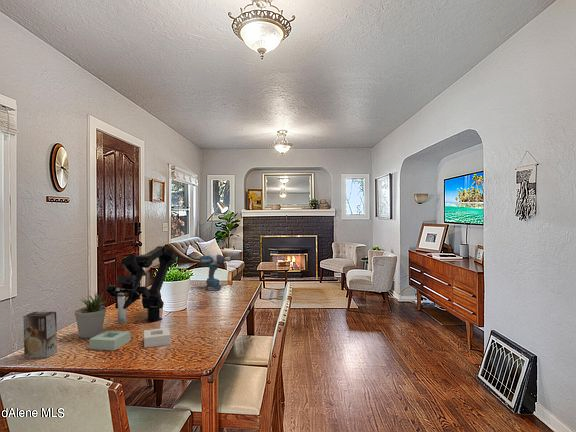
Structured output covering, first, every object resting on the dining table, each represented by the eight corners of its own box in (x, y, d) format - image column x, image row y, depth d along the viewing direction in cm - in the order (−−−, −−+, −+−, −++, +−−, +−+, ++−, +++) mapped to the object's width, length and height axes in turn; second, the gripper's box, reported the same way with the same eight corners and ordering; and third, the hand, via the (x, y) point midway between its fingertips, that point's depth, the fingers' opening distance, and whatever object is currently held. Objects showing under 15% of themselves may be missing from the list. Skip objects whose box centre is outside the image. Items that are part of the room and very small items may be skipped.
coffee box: (58, 351, 140) (57, 311, 140) (47, 358, 134) (46, 316, 134) (34, 351, 140) (34, 311, 140) (22, 358, 134) (22, 316, 134)
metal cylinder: (118, 321, 156) (118, 292, 156) (127, 321, 158) (126, 291, 157) (117, 324, 153) (116, 294, 153) (126, 323, 154) (126, 293, 154)
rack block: (107, 339, 154) (107, 330, 154) (130, 340, 152) (130, 331, 152) (89, 349, 143) (89, 339, 143) (114, 350, 141) (114, 340, 141)
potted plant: (71, 342, 150) (71, 295, 149) (76, 332, 162) (76, 289, 162) (105, 338, 155) (104, 292, 154) (107, 329, 167) (107, 286, 167)
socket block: (144, 339, 153) (144, 330, 153) (168, 336, 157) (168, 327, 157) (144, 347, 144) (144, 338, 144) (170, 344, 148) (170, 334, 148)
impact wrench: (230, 291, 246) (230, 255, 246) (198, 291, 246) (198, 255, 246) (232, 288, 254) (232, 253, 254) (201, 288, 254) (201, 253, 254)
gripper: (108, 267, 160) (91, 297, 150) (146, 268, 158) (132, 299, 147) (119, 281, 168) (103, 311, 157) (155, 282, 166) (142, 313, 155)
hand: (120, 308), depth 154 cm, fingers closed on metal cylinder, 3 cm apart
